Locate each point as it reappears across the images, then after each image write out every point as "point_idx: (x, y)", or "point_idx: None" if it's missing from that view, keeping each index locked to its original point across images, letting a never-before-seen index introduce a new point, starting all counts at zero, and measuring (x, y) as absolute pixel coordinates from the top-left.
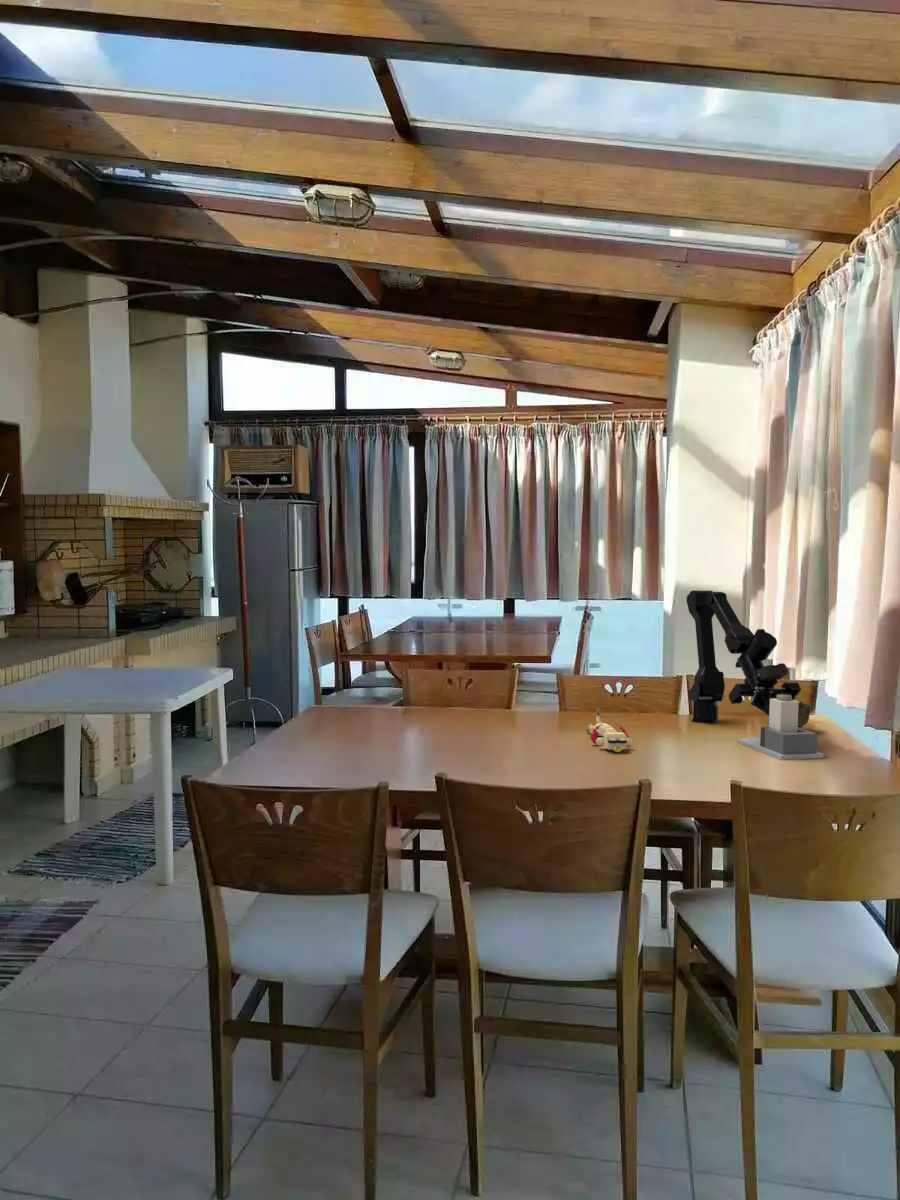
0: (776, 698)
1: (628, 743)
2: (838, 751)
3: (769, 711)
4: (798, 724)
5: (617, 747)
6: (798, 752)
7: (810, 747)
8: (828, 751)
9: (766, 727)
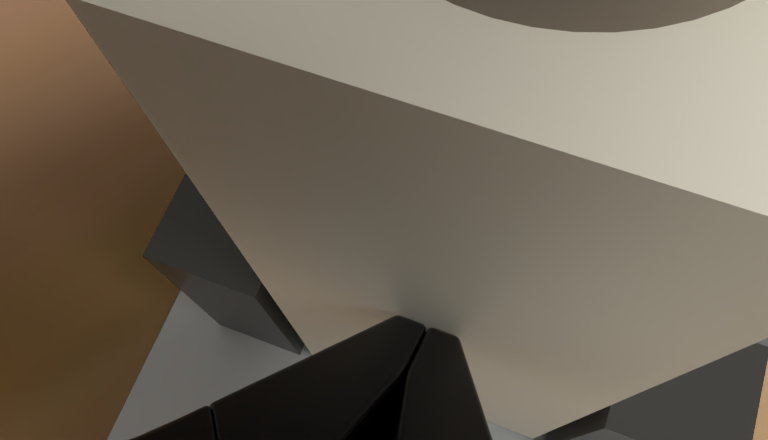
0: (555, 147)
1: None
2: (6, 41)
3: (689, 366)
4: None
5: None
6: None
7: None
8: (76, 81)
9: (695, 380)
